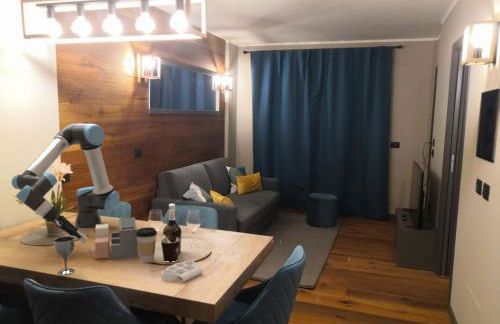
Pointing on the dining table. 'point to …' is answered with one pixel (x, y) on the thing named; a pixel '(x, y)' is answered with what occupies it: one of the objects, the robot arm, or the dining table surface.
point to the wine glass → (64, 251)
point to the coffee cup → (146, 243)
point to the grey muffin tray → (181, 272)
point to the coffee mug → (170, 250)
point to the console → (124, 240)
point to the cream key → (102, 231)
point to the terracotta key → (101, 248)
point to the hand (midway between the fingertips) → (86, 241)
